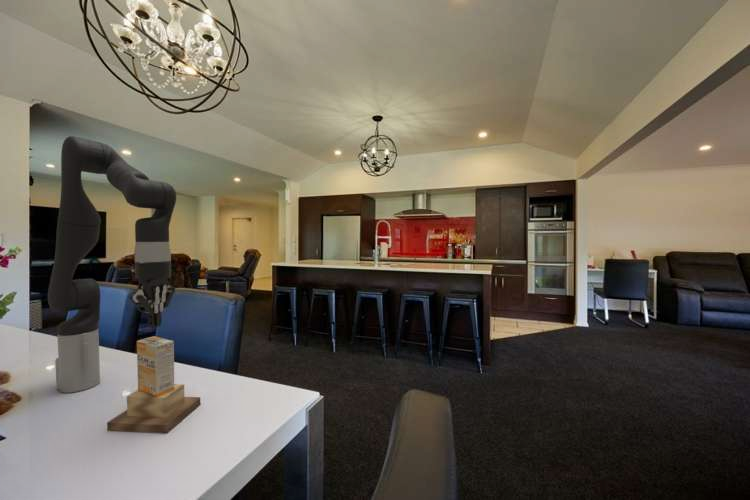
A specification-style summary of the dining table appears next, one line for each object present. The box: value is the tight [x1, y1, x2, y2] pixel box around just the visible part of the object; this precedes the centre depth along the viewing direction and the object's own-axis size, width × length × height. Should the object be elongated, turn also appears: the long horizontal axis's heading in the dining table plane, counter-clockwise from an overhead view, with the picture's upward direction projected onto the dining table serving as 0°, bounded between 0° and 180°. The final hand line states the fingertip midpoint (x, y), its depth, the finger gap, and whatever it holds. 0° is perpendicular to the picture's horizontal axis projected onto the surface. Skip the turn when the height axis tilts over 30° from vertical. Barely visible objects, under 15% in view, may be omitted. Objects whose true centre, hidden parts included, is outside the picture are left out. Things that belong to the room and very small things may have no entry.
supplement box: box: [136, 335, 175, 397], centre depth 81 cm, size 8×5×13 cm, turn 65°
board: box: [106, 396, 201, 434], centre depth 82 cm, size 15×13×2 cm
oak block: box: [126, 383, 185, 418], centre depth 82 cm, size 10×7×5 cm
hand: (155, 327), depth 81 cm, fingers closed
